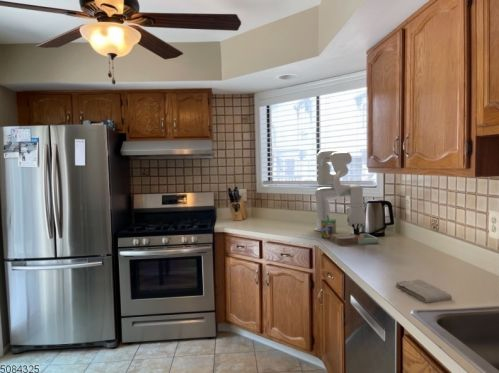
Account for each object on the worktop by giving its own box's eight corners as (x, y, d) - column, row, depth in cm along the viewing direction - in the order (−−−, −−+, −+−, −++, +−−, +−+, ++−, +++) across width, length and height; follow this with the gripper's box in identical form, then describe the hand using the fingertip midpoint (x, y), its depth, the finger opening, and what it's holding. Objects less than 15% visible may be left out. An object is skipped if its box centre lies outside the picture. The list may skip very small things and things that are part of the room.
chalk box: (335, 238, 228) (335, 216, 227) (321, 237, 231) (321, 215, 230) (336, 235, 236) (336, 214, 235) (323, 234, 239) (322, 213, 238)
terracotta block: (357, 232, 216) (361, 234, 216) (354, 239, 216) (357, 241, 216) (361, 234, 211) (364, 236, 212) (357, 240, 211) (361, 242, 212)
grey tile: (349, 232, 222) (353, 231, 222) (349, 239, 222) (353, 238, 222) (353, 233, 217) (356, 233, 218) (353, 240, 218) (356, 240, 218)
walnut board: (330, 240, 223) (330, 233, 223) (347, 239, 225) (347, 232, 225) (339, 245, 208) (339, 238, 208) (358, 244, 210) (358, 237, 210)
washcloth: (418, 284, 142) (418, 277, 142) (453, 301, 125) (453, 292, 124) (393, 287, 139) (393, 280, 139) (425, 305, 122) (425, 296, 122)
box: (347, 239, 225) (347, 234, 225) (366, 237, 227) (366, 233, 226) (358, 244, 210) (358, 239, 210) (378, 243, 212) (378, 238, 212)
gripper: (365, 204, 217) (365, 233, 219) (342, 205, 215) (342, 234, 217) (370, 205, 210) (370, 235, 211) (347, 206, 208) (347, 236, 209)
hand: (356, 234), depth 214 cm, fingers closed
